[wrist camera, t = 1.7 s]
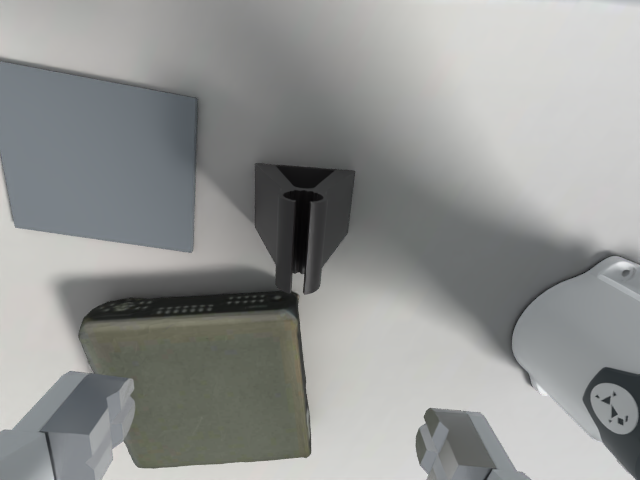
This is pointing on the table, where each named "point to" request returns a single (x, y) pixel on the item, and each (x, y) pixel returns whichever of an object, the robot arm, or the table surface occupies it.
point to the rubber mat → (98, 158)
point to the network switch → (206, 376)
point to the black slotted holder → (301, 218)
